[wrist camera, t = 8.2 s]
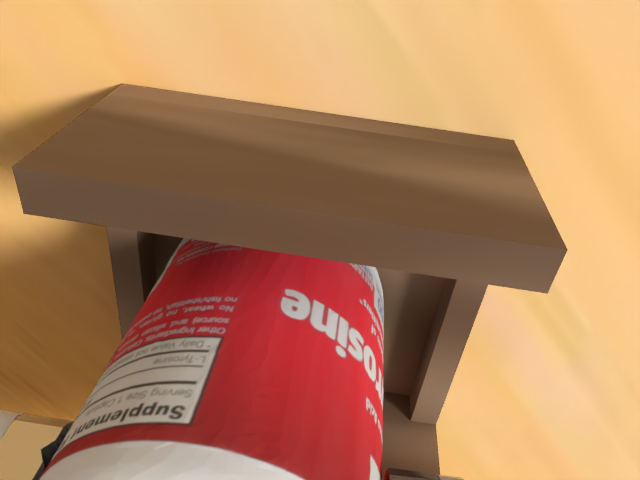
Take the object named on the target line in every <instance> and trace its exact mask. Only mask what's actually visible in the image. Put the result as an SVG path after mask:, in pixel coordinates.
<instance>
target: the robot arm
mask: <svg viewBox="0 0 640 480" xmlns="http://www.w3.org/2000/svg"><path fill="white" fill-rule="evenodd" d="M73 423H74V421H70V420H63V419H57V418H50V417H43V416H37V415H30V414H26V413H20V412H13V411H6V410H0V480H39V479H40V477H41V475H42V474H43V472H44V471H45V469H46V467H47V466H48V465H49V464H50V462H51V460H52V458H53V456H54V455H55V453H56V452H57V450H58V448H59V447H60V445H61V443H62V442H63V440H64V438H65V436H66V435H67V433H68V431H69V429H70V428H71V426H72V425H73ZM384 480H464V479H463V478H459V477H452V476H445V475H437V474H434V473H427V472H419V471H411V470H403V469H396V468H387V469H386V471H385V474H384Z"/></svg>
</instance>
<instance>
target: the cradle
mask: <svg viewBox="0 0 640 480" xmlns="http://www.w3.org/2000/svg"><path fill="white" fill-rule="evenodd" d="M12 168H13V172H14V176H15V180H16V184H17V188H18V192H19V196H20V200H21V204H22V208H23V213H24V214H29V215H36V216H43V217H49V218H56V219H62V220H69V221H75V222H82V223H89V224H95V225H102V226H106V227H107V234H108V241H109V248H110V255H111V262H112V269H113V276H114V283H115V290H116V297H117V304H118V311H119V318H120V325H121V332H122V339H123V338H124V336H125V335H126V333H127V332H128V330H129V328H130V327H131V325H132V323H133V321H134V320H135V318H136V316H137V314H138V313H139V311H140V309H141V308H142V306H143V305H144V303H145V301H146V300H147V298H148V296H149V294H150V292H151V290H152V289H153V287H154V285H155V284H156V282H157V281H158V279H159V277H160V276H161V274H162V273H163V271H164V269H165V267H166V265H167V264H168V262H169V260H170V258H171V257H172V255H173V254H174V252H175V250H176V249H177V247H178V246H179V244H180V243H181V242H182V240H183V239H184V238H187V239H194V240H200V241H207V242H213V243H220V244H226V245H233V246H240V247H246V248H253V249H259V250H266V251H272V252H279V253H286V254H292V255H299V256H305V257H312V258H318V259H325V260H332V261H338V262H345V263H351V264H358V265H364V266H371V267H376V270H377V272H378V275H379V278H380V282H381V286H382V290H383V300H384V351H383V434H382V439H383V450H382V480H384V474H385V471H386V469H387V468H396V469H403V470H411V471H419V472H427V473H434V474H437V475H440V468H439V457H438V445H437V434H436V423H437V420H438V417H439V415H440V412H441V409H442V407H443V404H444V401H445V399H446V396H447V393H448V390H449V388H450V385H451V382H452V380H453V377H454V374H455V372H456V369H457V366H458V364H459V361H460V358H461V356H462V353H463V350H464V348H465V345H466V342H467V340H468V337H469V334H470V332H471V329H472V326H473V323H474V321H475V318H476V315H477V313H478V310H479V307H480V305H481V302H482V299H483V297H484V294H485V291H486V289H487V286H488V284H489V285H496V286H502V287H509V288H515V289H522V290H529V291H535V292H542V293H548V291H549V289H550V287H551V284H552V282H553V280H554V278H555V276H556V274H557V271H558V269H559V267H560V265H561V263H562V261H563V258H564V256H565V254H566V252H567V248H566V246H565V244H564V242H563V240H562V238H561V236H560V234H559V232H558V230H557V228H556V226H555V224H554V221H553V219H552V217H551V215H550V213H549V211H548V209H547V207H546V205H545V203H544V201H543V199H542V197H541V195H540V193H539V191H538V189H537V187H536V185H535V183H534V181H533V178H532V176H531V174H530V172H529V170H528V168H527V166H526V164H525V162H524V160H523V158H522V156H521V154H520V152H519V150H518V148H517V146H516V144H515V142H514V140H508V139H501V138H494V137H487V136H480V135H473V134H467V133H460V132H453V131H446V130H439V129H432V128H425V127H418V126H411V125H404V124H398V123H391V122H384V121H377V120H370V119H363V118H356V117H349V116H342V115H335V114H329V113H322V112H315V111H308V110H301V109H294V108H287V107H280V106H273V105H266V104H260V103H253V102H246V101H239V100H232V99H225V98H218V97H211V96H204V95H197V94H190V93H184V92H177V91H170V90H163V89H156V88H149V87H142V86H135V85H128V84H121V85H120V86H119V87H117V88H116V89H115V90H113V91H112V92H111V93H109V94H108V95H107V96H105V97H104V98H103V99H101V100H100V101H99V102H97V103H96V104H95V105H93V106H92V107H91V108H89V109H88V110H87V111H85V112H84V113H83V114H81V115H80V116H79V117H78V118H76V119H75V120H74V121H72V122H71V123H70V124H68V125H67V126H66V127H64V128H63V129H62V130H60V131H59V132H58V133H56V134H55V135H54V136H52V137H51V138H50V139H48V140H47V141H46V142H44V143H43V144H42V145H40V146H39V147H38V148H36V149H35V150H34V151H32V152H31V153H30V154H28V155H27V156H26V157H24V158H23V159H22V160H21V161H19V162H18V163H17V164H15V165H14V166H13V167H12Z"/></svg>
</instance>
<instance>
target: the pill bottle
mask: <svg viewBox="0 0 640 480" xmlns="http://www.w3.org/2000/svg"><path fill="white" fill-rule="evenodd" d="M383 351H384V300H383V290H382V286H381V282H380V278H379V275H378V272H377V270H376V267H371V266H364V265H358V264H351V263H345V262H338V261H332V260H325V259H318V258H312V257H305V256H299V255H292V254H286V253H279V252H272V251H266V250H259V249H253V248H246V247H240V246H233V245H226V244H220V243H213V242H207V241H200V240H194V239H187V238H184V239H183V240H182V242H181V243H180V244H179V246H178V247H177V249H176V250H175V252H174V254H173V255H172V257H171V258H170V260H169V262H168V264H167V265H166V267H165V269H164V271H163V273H162V274H161V276H160V277H159V279H158V281H157V282H156V284H155V285H154V287H153V289H152V290H151V292H150V294H149V296H148V298H147V300H146V301H145V303H144V305H143V306H142V308H141V309H140V311H139V313H138V314H137V316H136V318H135V320H134V321H133V323H132V325H131V327H130V328H129V330H128V332H127V333H126V335H125V336H124V338H123V340H122V342H121V344H120V345H119V347H118V348H117V350H116V352H115V354H114V355H113V357H112V359H111V360H110V362H109V364H108V366H107V367H106V369H105V370H104V372H103V374H102V376H101V377H100V379H99V381H98V382H97V384H96V386H95V388H94V389H93V391H92V393H91V394H90V396H89V397H88V399H87V401H86V403H85V404H84V406H83V408H82V410H81V411H80V413H79V415H78V416H77V418H76V420H75V421H74V423H73V425H72V426H71V428H70V429H69V431H68V433H67V435H66V436H65V438H64V440H63V442H62V443H61V445H60V447H59V448H58V450H57V452H56V453H55V455H54V456H53V458H52V460H51V462H50V464H49V465H48V466H47V467H46V469H45V471H44V472H43V474H42V475H41V477H40V479H39V480H382V450H383V439H382V434H383Z"/></svg>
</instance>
